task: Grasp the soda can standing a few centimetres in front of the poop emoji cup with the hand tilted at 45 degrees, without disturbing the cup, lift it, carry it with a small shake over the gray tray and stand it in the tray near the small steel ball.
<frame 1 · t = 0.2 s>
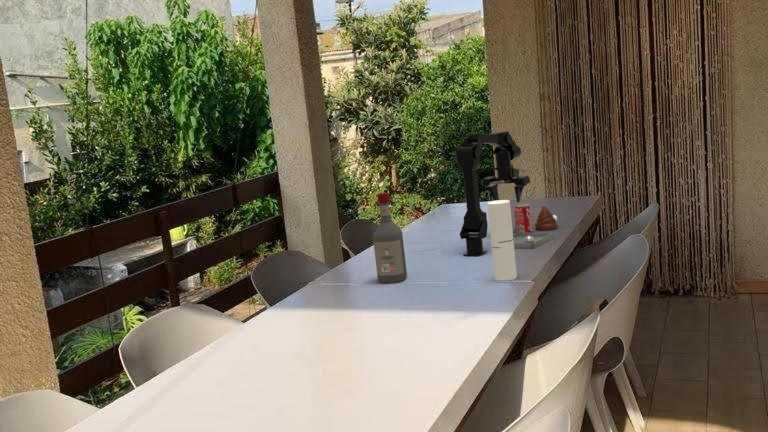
hand: (508, 202, 335), 14 cm above the table, tool pointing down, fingers open, 9 cm apart
poop emoji: (546, 229, 348), on the table
steel mixing ball: (529, 244, 318), point 1 cm above the table, touching gray tray
cylindrical container: (505, 278, 276), on the table
soda can: (525, 234, 341), on the table
gray tray: (524, 242, 326), on the table
liquor: (392, 280, 291), on the table
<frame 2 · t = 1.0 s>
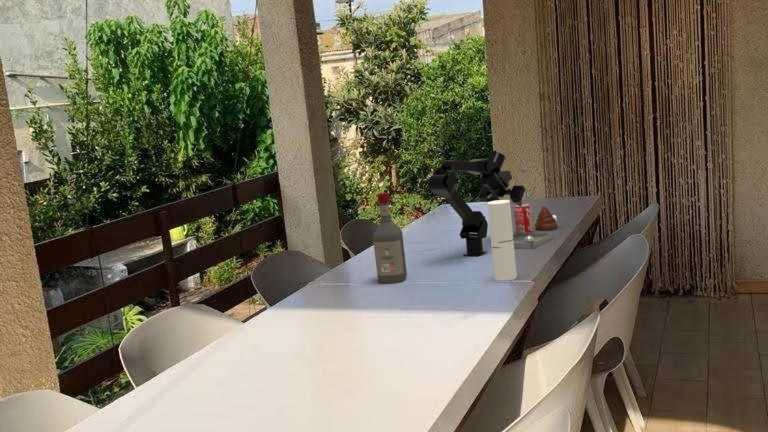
hand: (511, 205, 333), 13 cm above the table, tool tilted 45°, fingers open, 9 cm apart
nothing on the table moved.
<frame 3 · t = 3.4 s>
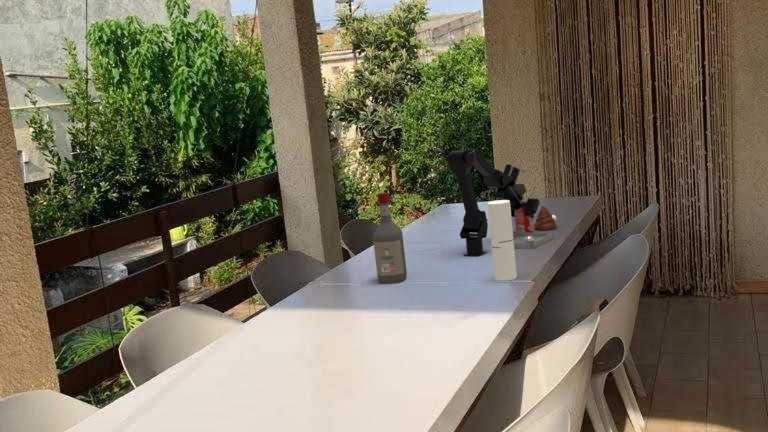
hand: (525, 217, 341), 7 cm above the table, tool tilted 45°, fingers closed on soda can, 7 cm apart
soda can: (525, 234, 341), on the table, touching gripper
everything else where it was.
when the fingers open (9 cm above the table, at t = 7.4 s): soda can drops 2 cm, resting on gray tray.
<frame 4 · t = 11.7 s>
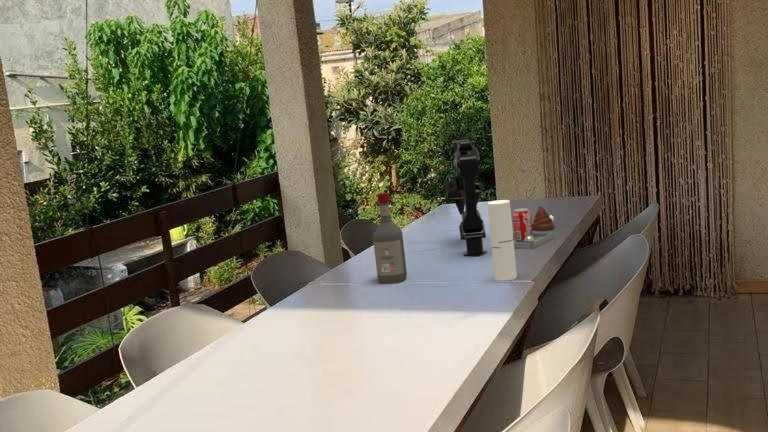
hand: (467, 212, 331), 13 cm above the table, tool pointing down, fingers open, 9 cm apart
soda can: (524, 240, 328), resting on gray tray
at the end: soda can inside the target area on the gray tray (2.1 cm from its centre), point 0.4 cm above the gray tray's base; soda can tilted 0°; poop emoji moved 1.5 cm from its start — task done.
